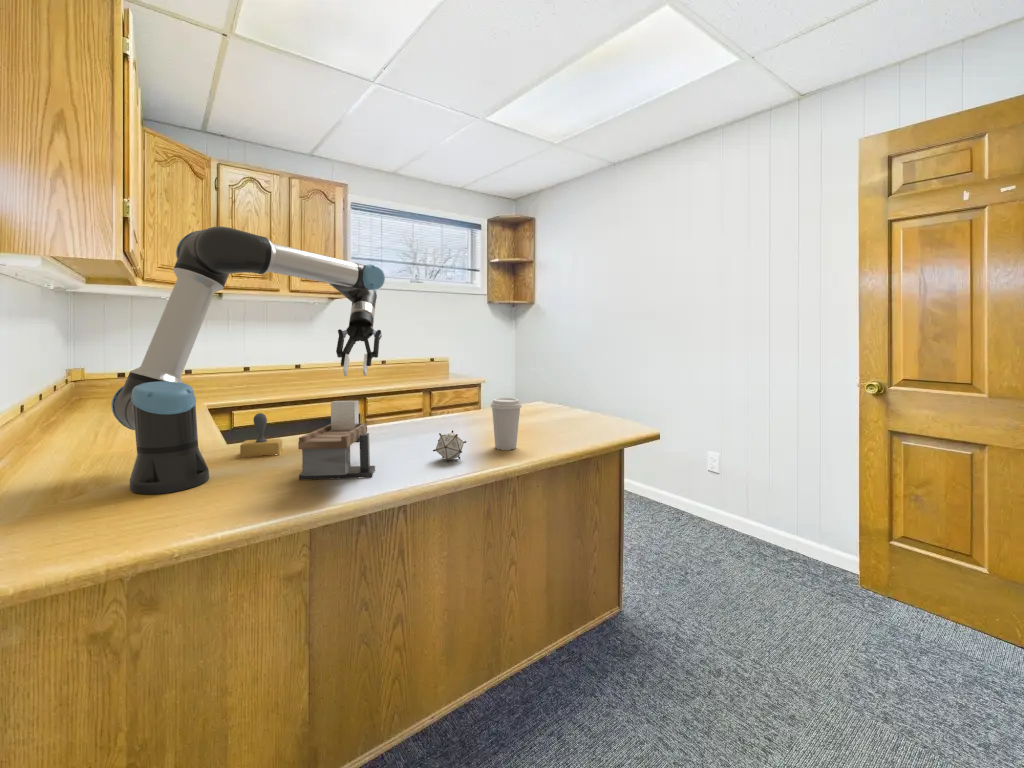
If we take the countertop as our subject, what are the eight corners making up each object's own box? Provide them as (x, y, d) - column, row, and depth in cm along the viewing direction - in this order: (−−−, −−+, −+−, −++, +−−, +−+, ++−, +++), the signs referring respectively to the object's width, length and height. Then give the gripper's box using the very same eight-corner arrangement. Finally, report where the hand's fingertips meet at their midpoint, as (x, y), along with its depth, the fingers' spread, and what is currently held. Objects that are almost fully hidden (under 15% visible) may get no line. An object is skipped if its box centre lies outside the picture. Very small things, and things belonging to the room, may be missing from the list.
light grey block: (336, 428, 132) (335, 400, 132) (358, 427, 133) (358, 400, 133) (331, 430, 126) (330, 402, 126) (354, 430, 127) (354, 401, 127)
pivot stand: (306, 472, 123) (304, 433, 121) (375, 470, 125) (374, 431, 124) (299, 479, 117) (297, 438, 115) (371, 477, 119) (370, 436, 118)
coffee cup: (526, 446, 151) (527, 399, 149) (510, 453, 143) (510, 403, 141) (501, 442, 156) (501, 396, 154) (484, 448, 148) (484, 400, 146)
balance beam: (329, 454, 134) (329, 424, 134) (368, 453, 135) (367, 423, 135) (297, 477, 104) (297, 437, 104) (347, 475, 106) (347, 436, 106)
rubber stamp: (240, 457, 135) (238, 415, 134) (245, 452, 141) (243, 412, 139) (279, 455, 138) (277, 414, 137) (282, 450, 144) (280, 410, 142)
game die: (449, 470, 137) (454, 438, 142) (469, 465, 132) (474, 432, 137) (424, 460, 132) (431, 427, 137) (444, 454, 127) (450, 420, 132)
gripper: (390, 326, 164) (386, 380, 149) (335, 326, 161) (326, 381, 147) (388, 310, 158) (384, 365, 144) (331, 309, 155) (321, 365, 141)
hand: (354, 373), depth 145 cm, fingers open, 5 cm apart
